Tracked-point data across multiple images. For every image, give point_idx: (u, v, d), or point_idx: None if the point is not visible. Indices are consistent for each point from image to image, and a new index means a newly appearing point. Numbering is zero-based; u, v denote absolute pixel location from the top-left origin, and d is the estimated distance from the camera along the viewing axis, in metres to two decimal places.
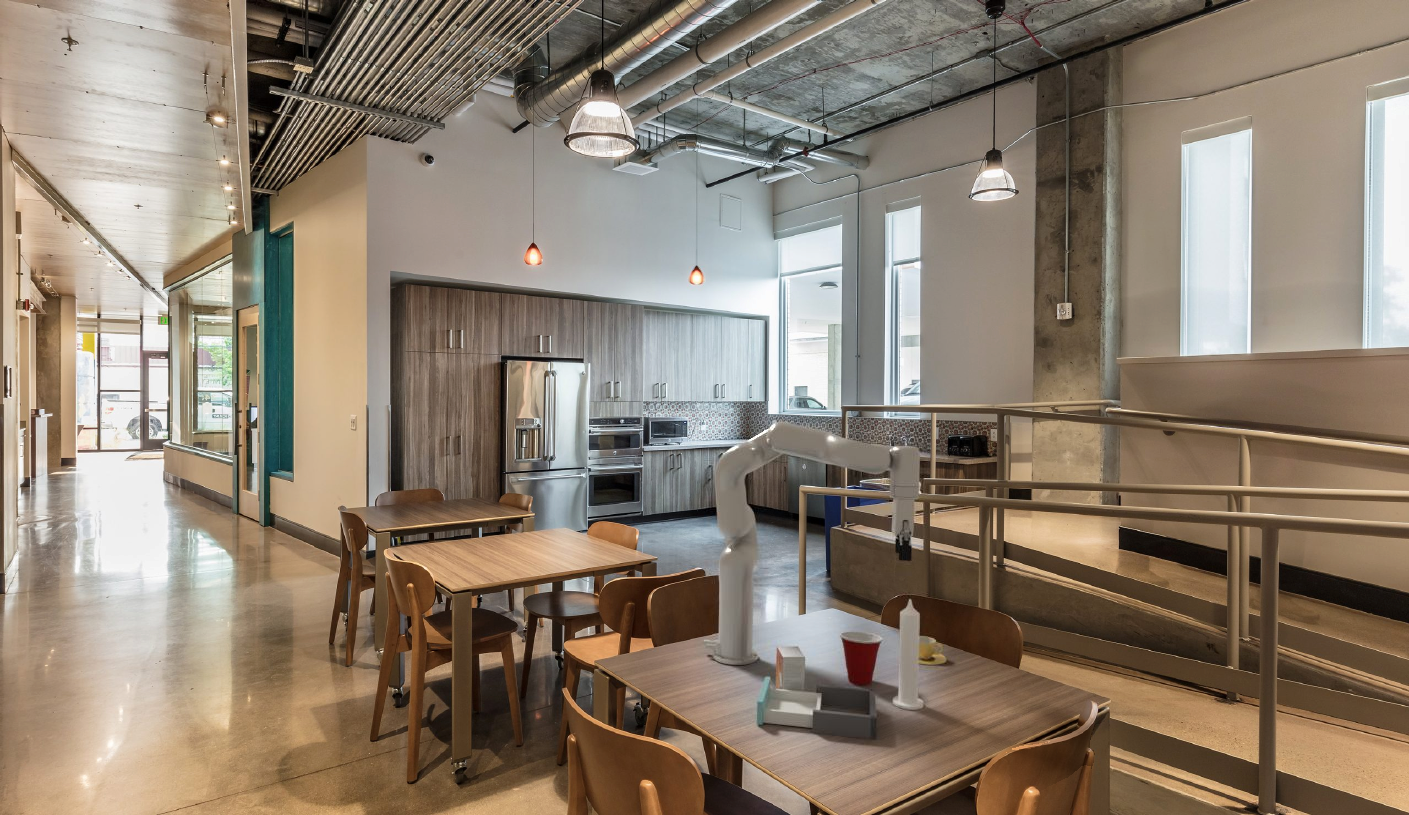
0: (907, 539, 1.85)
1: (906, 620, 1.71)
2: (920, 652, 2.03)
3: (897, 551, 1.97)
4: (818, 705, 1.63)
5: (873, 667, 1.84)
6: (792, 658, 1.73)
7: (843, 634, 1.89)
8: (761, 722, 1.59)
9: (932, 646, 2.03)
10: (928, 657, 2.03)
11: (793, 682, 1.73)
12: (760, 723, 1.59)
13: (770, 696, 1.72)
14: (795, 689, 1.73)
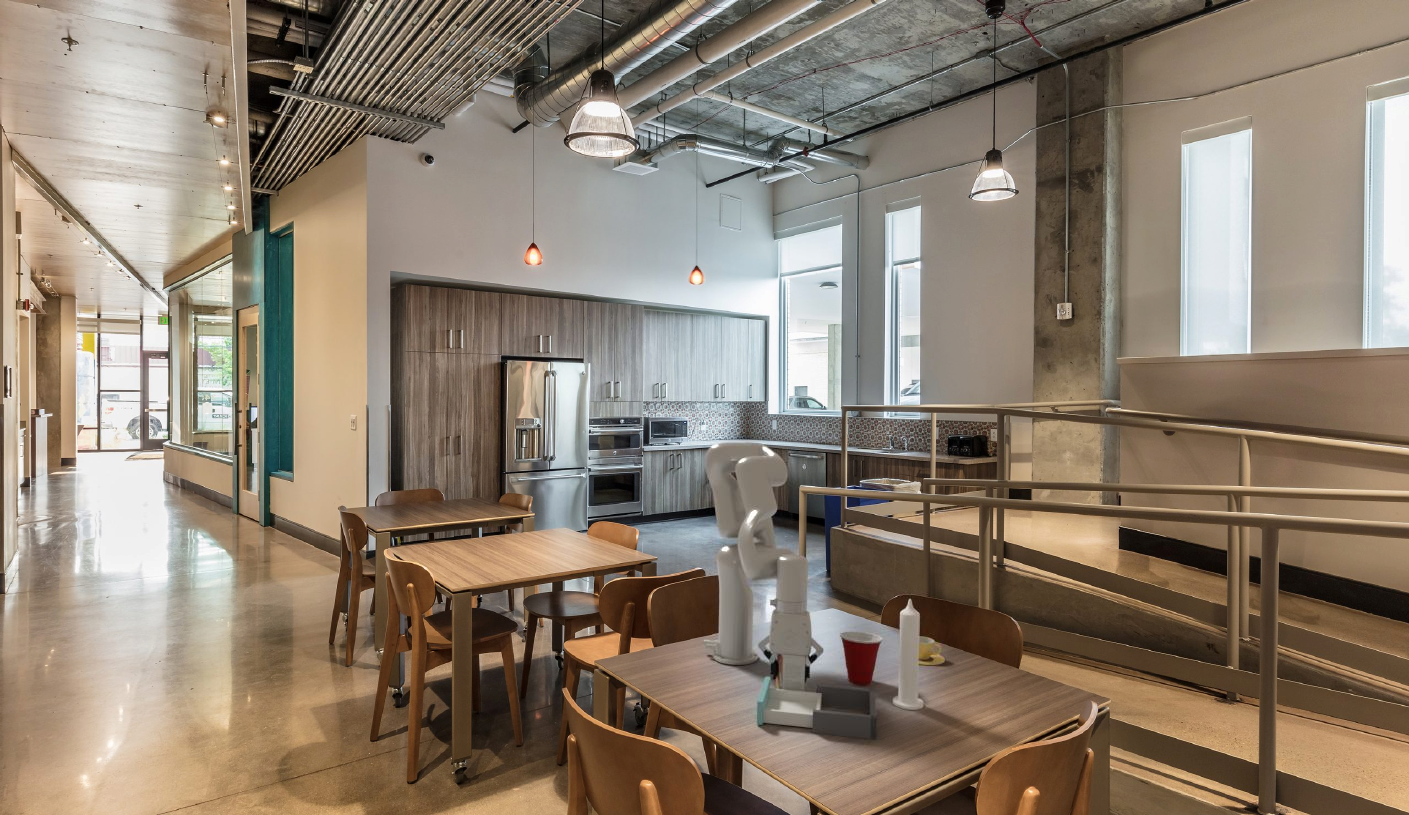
0: None
1: (906, 620, 1.71)
2: (919, 652, 2.03)
3: None
4: (818, 705, 1.63)
5: (873, 667, 1.84)
6: (792, 658, 1.73)
7: (843, 634, 1.89)
8: (761, 722, 1.59)
9: (931, 646, 2.02)
10: (927, 657, 2.03)
11: (793, 682, 1.73)
12: (760, 723, 1.59)
13: (770, 696, 1.72)
14: (795, 689, 1.73)
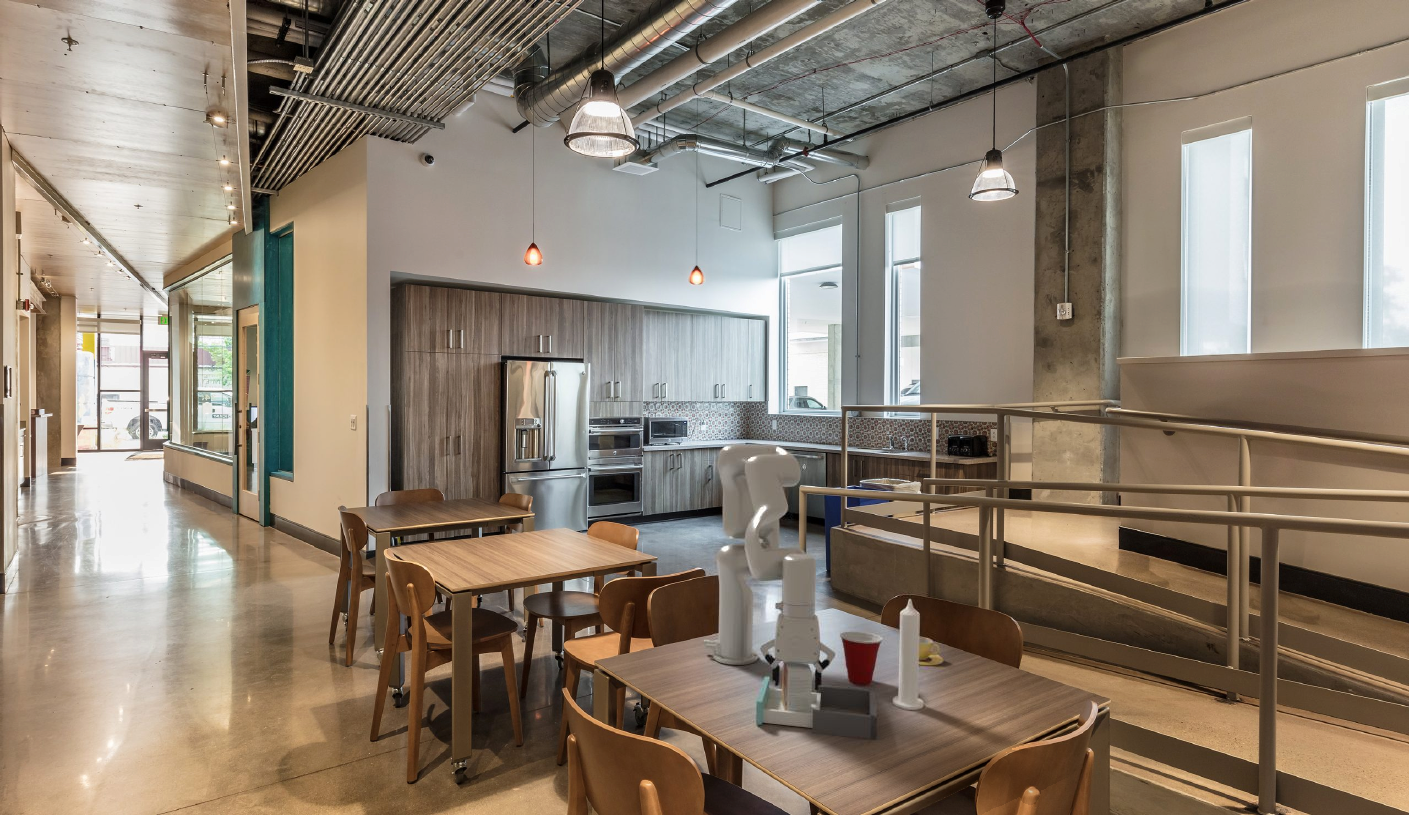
0: None
1: (906, 620, 1.71)
2: None
3: (778, 683, 1.65)
4: (817, 705, 1.63)
5: (873, 667, 1.84)
6: (798, 672, 1.61)
7: (843, 634, 1.89)
8: (760, 722, 1.59)
9: (929, 647, 2.02)
10: (925, 658, 2.03)
11: (798, 697, 1.61)
12: (759, 723, 1.59)
13: (769, 696, 1.72)
14: (801, 705, 1.61)
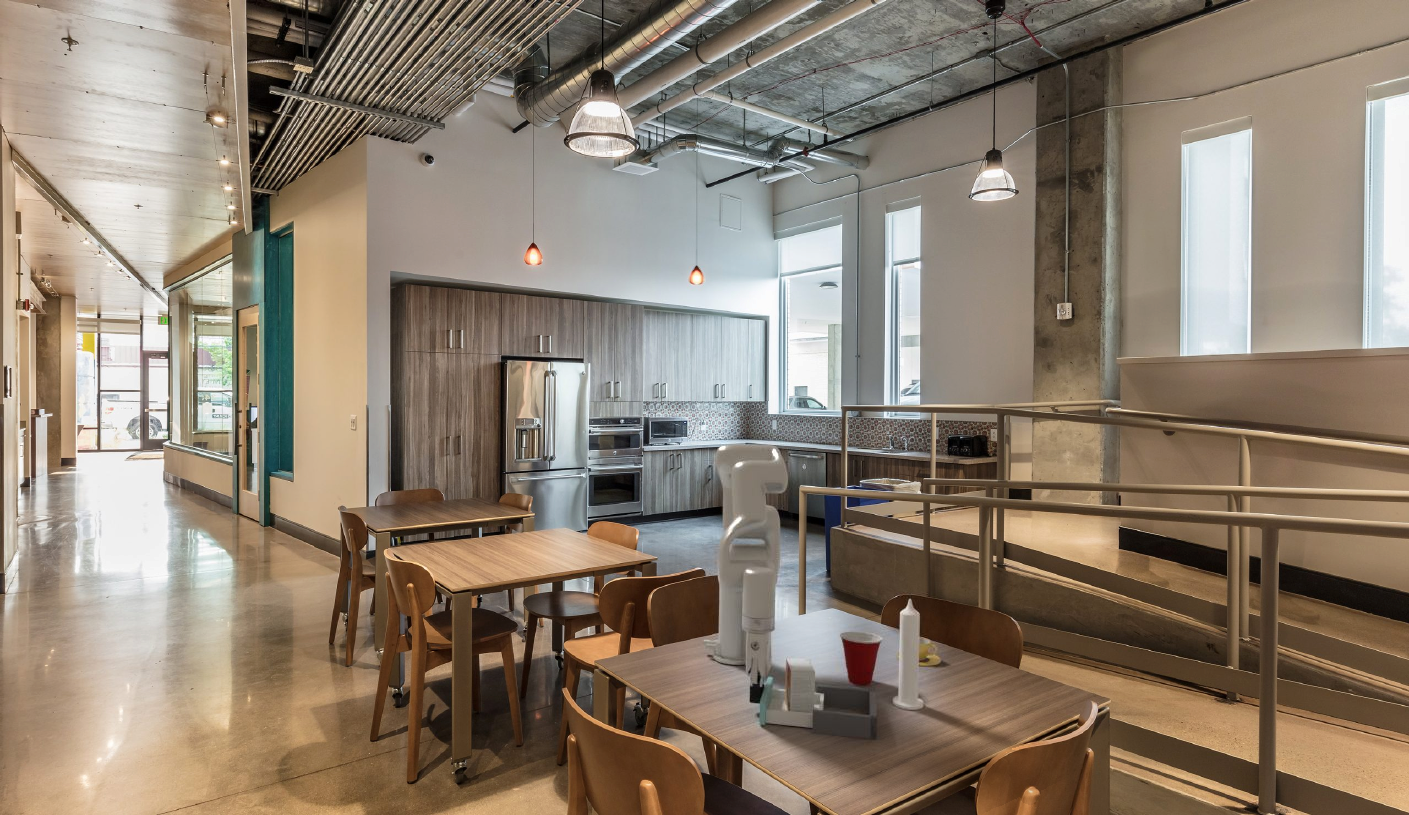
0: None
1: (906, 620, 1.71)
2: None
3: None
4: (821, 705, 1.63)
5: (873, 667, 1.84)
6: (801, 672, 1.61)
7: (843, 634, 1.89)
8: (764, 722, 1.59)
9: (926, 647, 2.02)
10: (922, 658, 2.02)
11: (801, 698, 1.61)
12: (763, 723, 1.59)
13: (772, 696, 1.72)
14: (804, 705, 1.61)
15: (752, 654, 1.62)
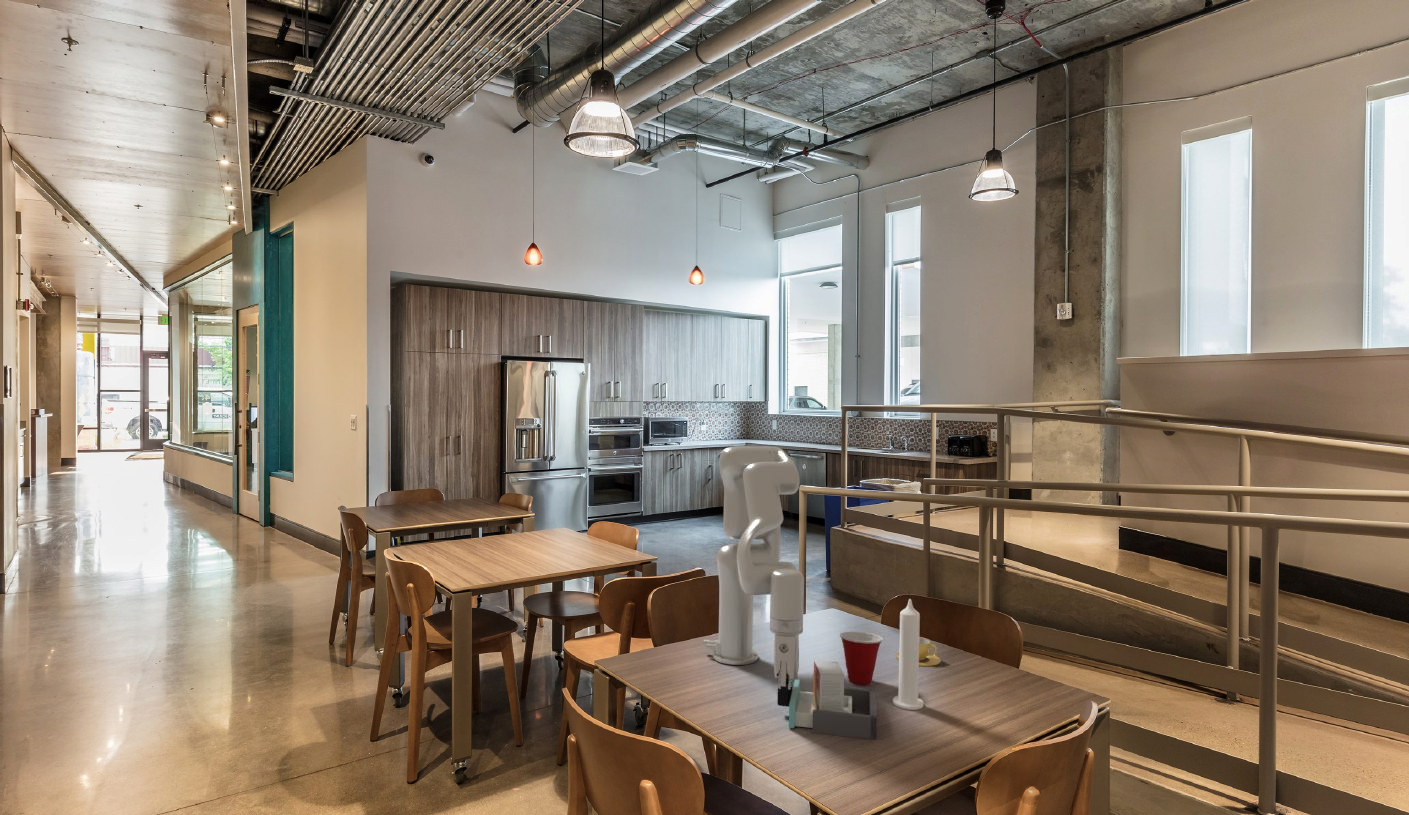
0: None
1: (906, 620, 1.71)
2: None
3: None
4: (850, 708, 1.61)
5: (873, 667, 1.84)
6: (830, 675, 1.60)
7: (843, 634, 1.89)
8: (793, 725, 1.57)
9: (926, 647, 2.02)
10: (922, 658, 2.02)
11: (831, 700, 1.60)
12: (792, 726, 1.57)
13: (800, 699, 1.70)
14: (833, 708, 1.60)
15: (781, 657, 1.61)
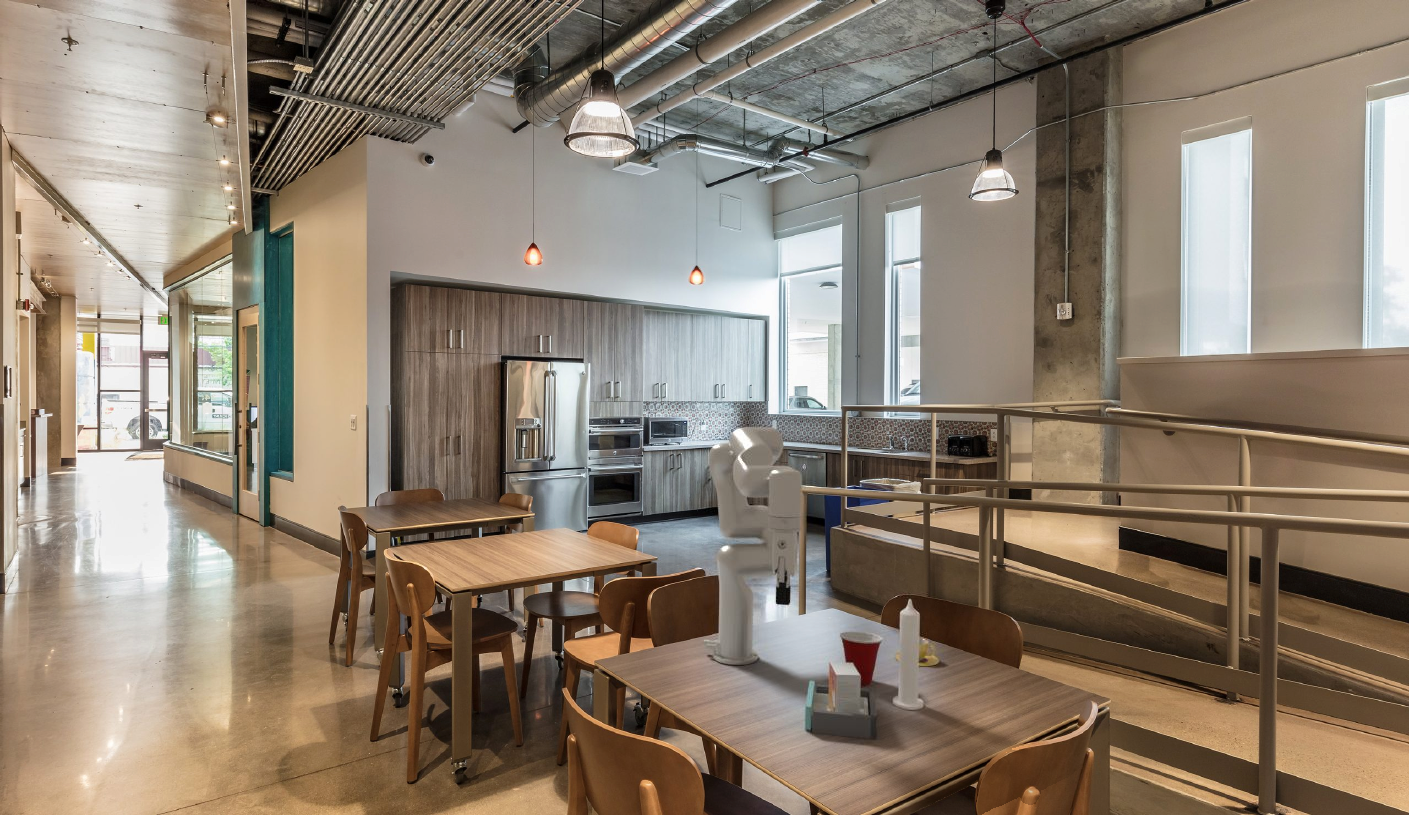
0: None
1: (906, 620, 1.71)
2: None
3: None
4: (866, 710, 1.61)
5: (873, 667, 1.84)
6: (846, 677, 1.59)
7: (843, 634, 1.89)
8: (809, 727, 1.57)
9: (924, 647, 2.01)
10: (920, 658, 2.02)
11: (847, 702, 1.59)
12: (808, 728, 1.57)
13: (815, 700, 1.70)
14: (850, 710, 1.59)
15: (779, 553, 1.61)
